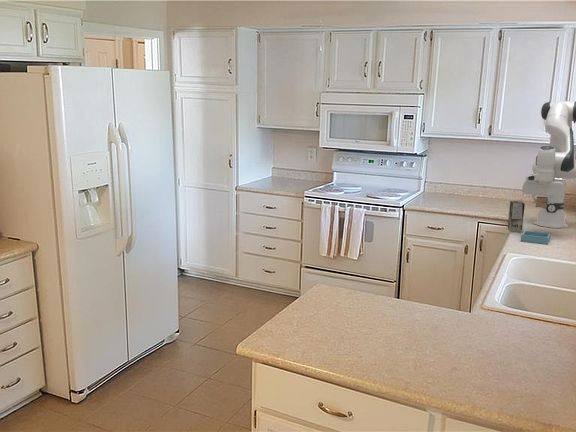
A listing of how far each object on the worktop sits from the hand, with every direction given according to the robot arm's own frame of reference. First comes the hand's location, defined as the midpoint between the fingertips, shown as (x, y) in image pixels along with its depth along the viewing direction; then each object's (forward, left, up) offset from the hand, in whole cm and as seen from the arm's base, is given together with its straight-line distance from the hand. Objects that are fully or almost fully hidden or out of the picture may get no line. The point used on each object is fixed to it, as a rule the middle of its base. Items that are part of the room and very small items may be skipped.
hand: (541, 203), depth 300 cm
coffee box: (-9, -13, -18) cm, 24 cm away
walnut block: (0, 0, -2) cm, 2 cm away
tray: (+13, 0, -18) cm, 22 cm away
